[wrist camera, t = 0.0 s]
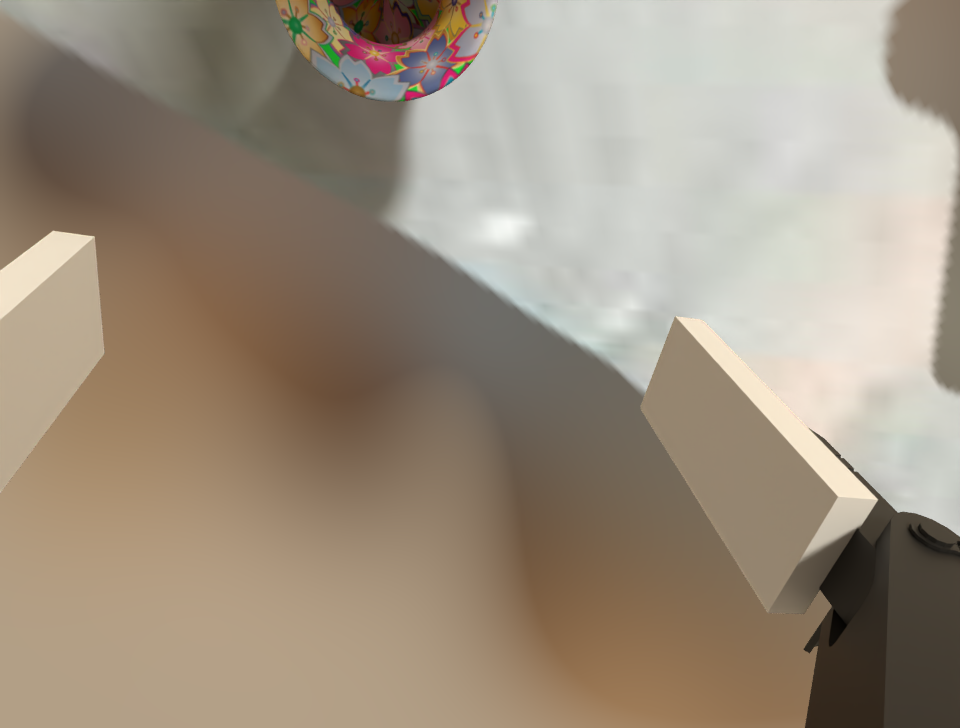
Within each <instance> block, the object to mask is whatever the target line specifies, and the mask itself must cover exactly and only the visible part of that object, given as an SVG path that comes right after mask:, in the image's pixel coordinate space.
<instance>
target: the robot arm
mask: <svg viewBox="0 0 960 728" xmlns="http://www.w3.org/2000/svg"><path fill="white" fill-rule="evenodd" d="M104 354H105V352H104V341H103V328H102V316H101V305H100V292H99V281H98V269H97V257H96V245H95V236H87V235H80V234H73V233H66V232H58V231H52V232H51V233H49V235H47V236H45V237H44V238H43V239H42V240H40V241H39V242H37V243H36V244H35V245H34V246H32V247H31V248H29V249H28V250H27V251H25V252H24V253H23V254H21V255H20V256H19V257H18V258H16V259H15V260H14V261H13V262H11V263H10V264H8V265H7V266H5V267H4V268H3V269H2V270H0V493H1V492H2V490H3V489H4V488H5V486H6V485H7V484H8V482H9V481H10V480H11V478H12V477H13V476H14V474H15V473H16V472H17V470H18V469H19V467H20V466H21V465H22V464H23V462H24V461H25V459H26V458H27V457H28V455H29V454H30V453H31V451H32V450H33V449H34V447H35V446H36V445H37V443H38V442H39V441H40V439H41V438H42V437H43V435H44V434H45V433H46V431H47V430H48V429H49V427H50V426H51V425H52V423H53V422H54V421H55V419H56V418H57V417H58V415H59V414H60V413H61V411H62V410H63V408H64V407H65V406H66V404H67V403H68V402H69V400H70V399H71V398H72V396H73V395H74V393H75V392H76V391H77V390H78V388H79V387H80V386H81V384H82V383H83V382H84V380H85V379H86V378H87V376H88V375H89V374H90V372H91V371H92V370H93V368H94V367H95V365H96V364H97V363H98V361H99V360H100V359H101V358H102V356H103V355H104ZM640 409H641V410H642V412H643V414H644V415H645V417H646V418H647V420H648V422H649V423H650V425H651V426H652V428H653V430H654V431H655V433H656V434H657V436H658V438H659V439H660V441H661V443H662V444H663V446H664V447H665V449H666V451H667V452H668V454H669V455H670V457H671V458H672V460H673V462H674V463H675V465H676V467H677V468H678V470H679V471H680V473H681V474H682V476H683V478H684V479H685V481H686V482H687V484H688V486H689V487H690V489H691V491H692V492H693V494H694V495H695V497H696V498H697V500H698V502H699V503H700V505H701V507H702V508H703V510H704V512H705V513H706V515H707V516H708V518H709V519H710V521H711V523H712V524H713V526H714V527H715V529H716V531H717V532H718V534H719V535H720V537H721V539H722V540H723V542H724V544H725V545H726V547H727V548H728V550H729V552H730V553H731V555H732V556H733V558H734V560H735V561H736V563H737V564H738V566H739V568H740V569H741V571H742V573H743V574H744V576H745V577H746V579H747V581H748V582H749V584H750V585H751V587H752V588H753V590H754V592H755V593H756V595H757V596H758V598H759V600H760V601H761V603H762V605H763V606H764V608H765V609H766V610H767V613H786V614H804V613H805V612H806V610H807V609H808V607H809V606H810V604H811V603H812V601H813V600H814V598H815V597H816V595H817V594H818V592H819V590H821V591H822V593H823V594H824V596H825V597H826V598H827V600H828V601H829V602H830V604H831V605H832V608H831V609H830V610H829V612H828V613H827V615H826V616H825V618H824V619H823V621H822V622H821V624H820V625H819V627H818V628H817V630H816V631H815V633H814V634H813V636H812V637H811V638H810V640H809V641H808V643H807V645H806V646H805V648H804V650H805V651H807V652H809V653H810V652H811V651H812V649H813V648H814V647H815V646H818V651H817V657H816V663H815V669H814V675H813V682H812V689H811V694H810V700H809V706H808V713H807V719H806V725H805V728H960V537H959V536H958V535H956V534H955V533H954V532H952V531H951V530H950V529H948V528H947V527H945V526H943V525H941V524H939V523H937V522H936V521H934V520H932V519H929V518H927V517H924V516H921V515H918V514H915V513H908V512H900V513H897V512H896V511H895V510H894V509H893V507H892V506H891V505H890V504H889V503H888V502H887V501H886V500H885V499H884V498H883V497H882V496H881V495H880V494H879V493H878V492H877V491H876V490H875V489H874V488H873V487H872V486H871V485H870V484H869V483H868V482H867V481H866V480H865V479H864V478H863V477H862V476H861V475H860V474H859V473H858V472H854V468H853V467H852V466H851V465H850V464H849V463H848V462H847V461H846V460H845V459H844V458H841V457H840V456H841V455H840V454H839V453H838V452H837V451H836V450H835V449H834V448H833V447H832V446H831V445H830V444H829V443H828V442H827V441H826V440H825V439H824V438H823V437H821V436H820V435H818V434H817V433H815V432H814V431H812V430H811V429H809V428H808V427H807V426H806V425H805V424H804V423H803V422H802V421H801V420H800V419H799V418H798V417H797V416H796V415H795V414H794V413H793V412H792V411H791V410H790V409H789V408H788V407H787V406H786V405H785V404H784V403H783V402H782V401H781V400H780V399H779V398H778V397H777V396H776V395H775V394H774V393H773V391H772V390H771V389H770V388H769V387H768V386H767V385H766V384H765V383H764V382H763V381H762V380H761V379H760V378H759V377H758V376H757V375H756V374H755V373H754V372H753V371H752V370H751V369H750V368H749V367H748V366H747V365H746V364H745V363H744V362H743V361H742V360H741V359H740V358H739V357H738V356H737V355H736V354H735V353H734V352H733V351H732V350H731V348H730V347H729V346H728V345H727V344H726V343H725V342H724V341H723V340H722V339H721V338H720V337H719V336H718V335H717V334H716V333H715V332H714V331H713V330H712V329H711V328H710V327H709V326H708V325H707V324H706V323H705V322H704V321H703V320H699V319H691V318H684V317H677V316H675V318H674V321H673V323H672V326H671V328H670V331H669V334H668V336H667V339H666V341H665V344H664V347H663V349H662V352H661V354H660V357H659V360H658V362H657V365H656V367H655V370H654V373H653V375H652V378H651V381H650V383H649V386H648V388H647V391H646V394H645V396H644V399H643V402H642V404H641V407H640Z"/></svg>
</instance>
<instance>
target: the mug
mask: <svg viewBox="0 0 960 728" xmlns="http://www.w3.org/2000/svg"><path fill="white" fill-rule="evenodd" d="M275 1H276V4H277V7H278V10H279V14H280V16H281V18H282V21H283V23H284V25H285V27H286V29H287V31H288V33H289V35H290V37H291V39H292V40H293V42H294V43H295V45H296V46H297V48H298V49H299V50H300V52H301V53H302V54H303V56H304V57H305V58H306V59H307V60H308V61H309V63H310V64H311V65H312V66H313V67H314V68H315V69H316V70H317V71H319V72H320V73H321V74H322V75H323V76H324V77H326V78H327V79H328V80H330V81H331V82H333V83H334V84H336V85H337V86H339V87H341V88H343V89H345V90H347V91H348V92H351V93H353V94H356V95H358V96H361V97H365V98H368V99H372V100H378V101H388V102H398V101H408V100H414V99H418V98H422V97H424V96H427V95H430V94H432V93H434V92H436V91H438V90H440V89H442V88H444V87H445V86H447V85H448V84H450V83H451V82H452V81H454V80H455V79H456V78H457V77H459V76H460V75H461V74H462V73H463V72H464V71H465V70H466V69H467V67H468V66H469V65H470V64H471V63H472V62H473V60H474V59H475V57H476V56H477V55H478V53H479V51H480V50H481V48H482V46H483V45H484V43H485V41H486V38H487V36H488V34H489V32H490V29H491V26H492V23H493V20H494V16H495V12H496V8H497V2H498V0H275Z"/></svg>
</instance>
